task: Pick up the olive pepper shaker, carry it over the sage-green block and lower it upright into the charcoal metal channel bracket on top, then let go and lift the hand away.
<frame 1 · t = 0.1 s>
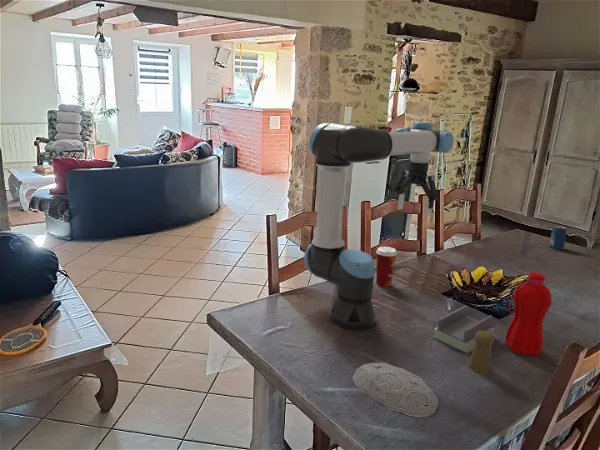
hand: (413, 212, 188), 28 cm above the table, tool pointing down, fingers open, 13 cm apart
coffee cup: (383, 284, 185), on the table
embossed oval dome: (393, 391, 119), on the table
olive pepper shaker: (479, 367, 130), on the table
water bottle: (519, 348, 141), on the table
soda can: (555, 248, 240), on the table
cup bracket: (463, 336, 146), on the table
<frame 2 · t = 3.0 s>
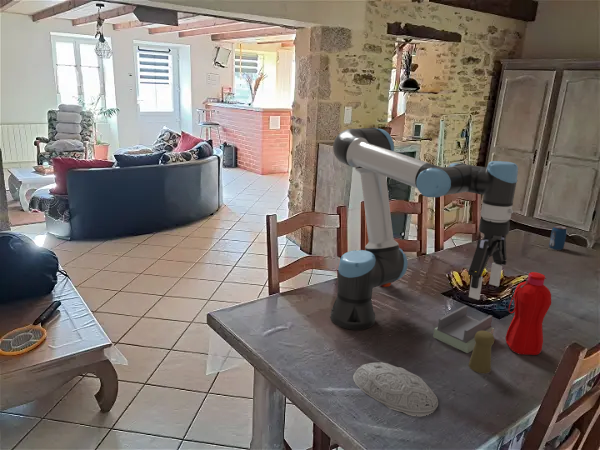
hand: (484, 291, 129), 22 cm above the table, tool pointing down, fingers open, 13 cm apart
nothing on the table moved.
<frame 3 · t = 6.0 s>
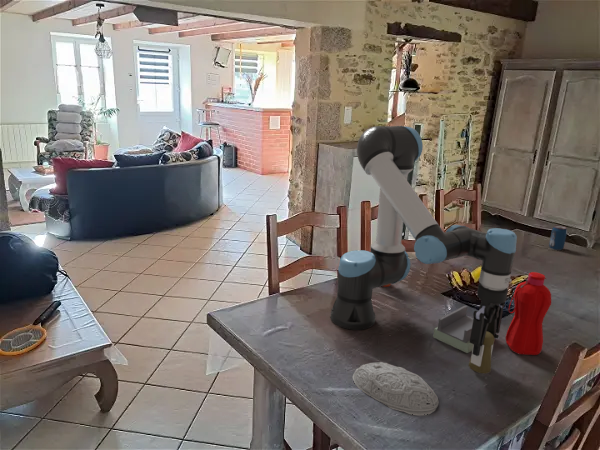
hand: (480, 360, 129), 2 cm above the table, tool pointing down, fingers closed on olive pepper shaker, 5 cm apart
olive pepper shaker: (479, 367, 130), on the table, touching gripper
everything else where it was.
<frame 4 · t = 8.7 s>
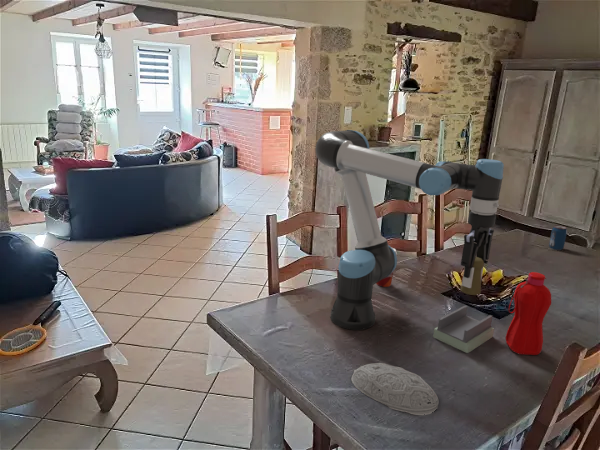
hand: (471, 284, 141), 19 cm above the table, tool pointing down, fingers closed on olive pepper shaker, 5 cm apart
olive pepper shaker: (470, 291, 142), point 16 cm above the table, touching gripper
everything else where it was.
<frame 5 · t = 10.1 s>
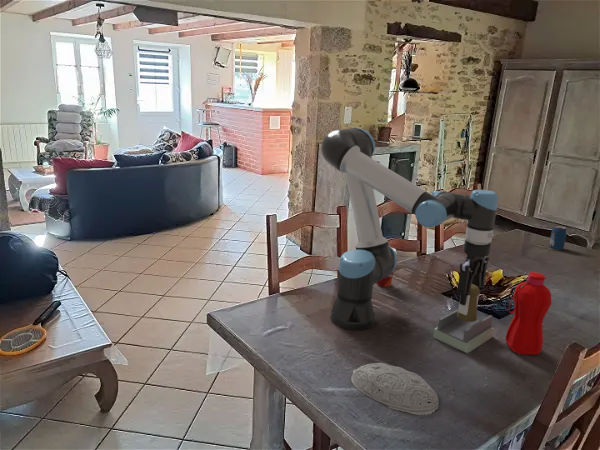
hand: (467, 310, 144), 9 cm above the table, tool pointing down, fingers closed on olive pepper shaker, 5 cm apart
olive pepper shaker: (466, 317, 144), point 7 cm above the table, touching gripper
everything else where it was.
when the fingers open (6 cm above the table, at t = 11.4 s): olive pepper shaker stays where it is, resting on cup bracket.
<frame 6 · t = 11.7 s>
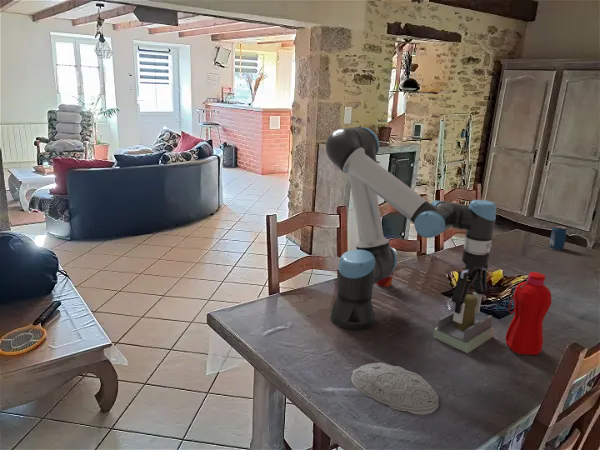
hand: (466, 316, 144), 7 cm above the table, tool pointing down, fingers open, 10 cm apart
olive pepper shaker: (464, 327, 145), point 3 cm above the table, touching cup bracket
everything else where it was.
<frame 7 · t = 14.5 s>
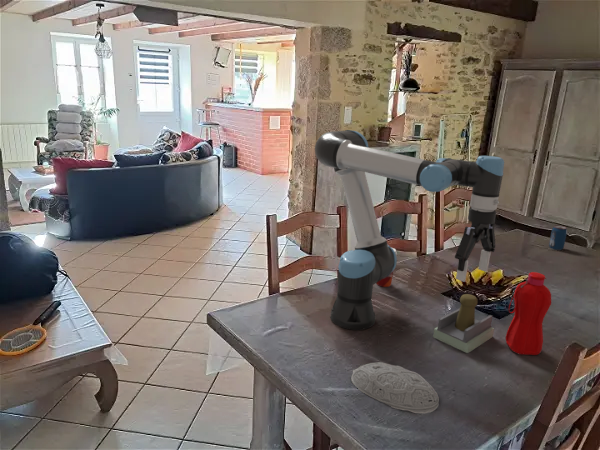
hand: (471, 275, 140), 21 cm above the table, tool pointing down, fingers open, 13 cm apart
nothing on the table moved.
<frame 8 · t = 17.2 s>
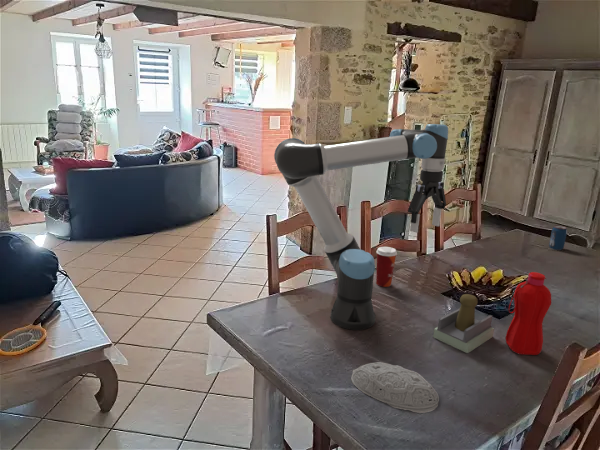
hand: (425, 228, 163), 29 cm above the table, tool pointing down, fingers open, 13 cm apart
nothing on the table moved.
at the end: olive pepper shaker inside the target area on the cup bracket (0.0 cm from its centre), point 3.3 cm above the cup bracket's base; olive pepper shaker tilted 0°; the gripper is holding nothing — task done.
